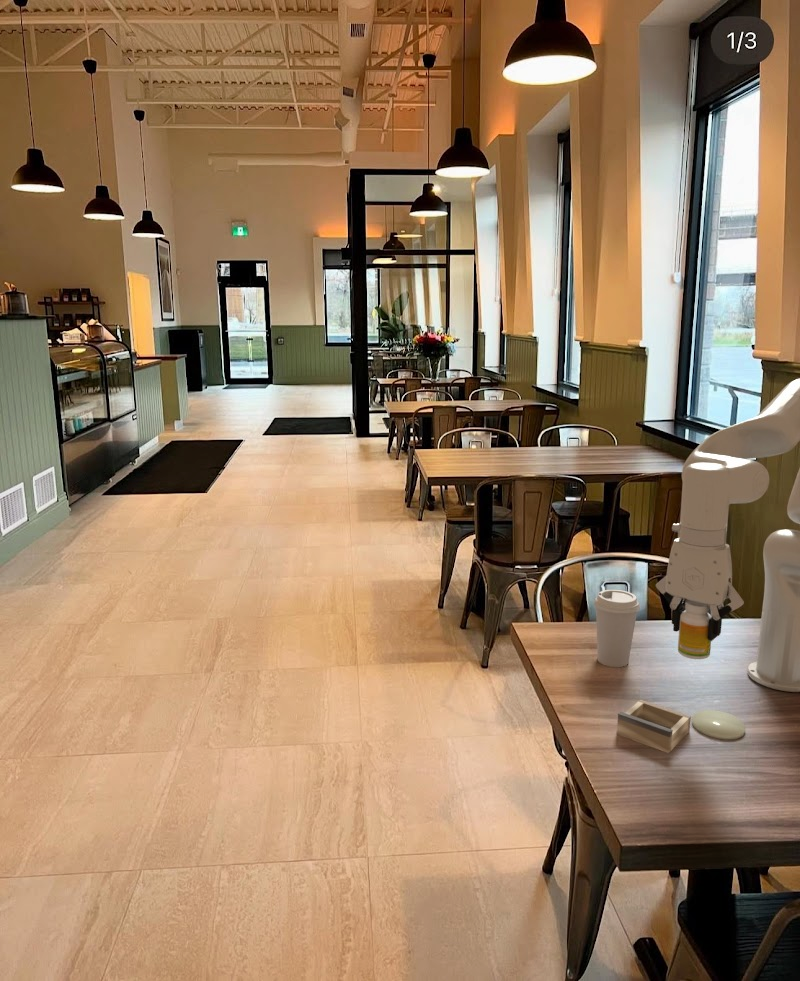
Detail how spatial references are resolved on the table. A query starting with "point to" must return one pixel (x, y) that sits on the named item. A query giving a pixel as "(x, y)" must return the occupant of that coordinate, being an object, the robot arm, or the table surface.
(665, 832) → the table surface
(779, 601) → the robot arm
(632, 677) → the table surface
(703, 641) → the supplement bottle
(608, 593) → the coffee cup
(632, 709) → the can holder
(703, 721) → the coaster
